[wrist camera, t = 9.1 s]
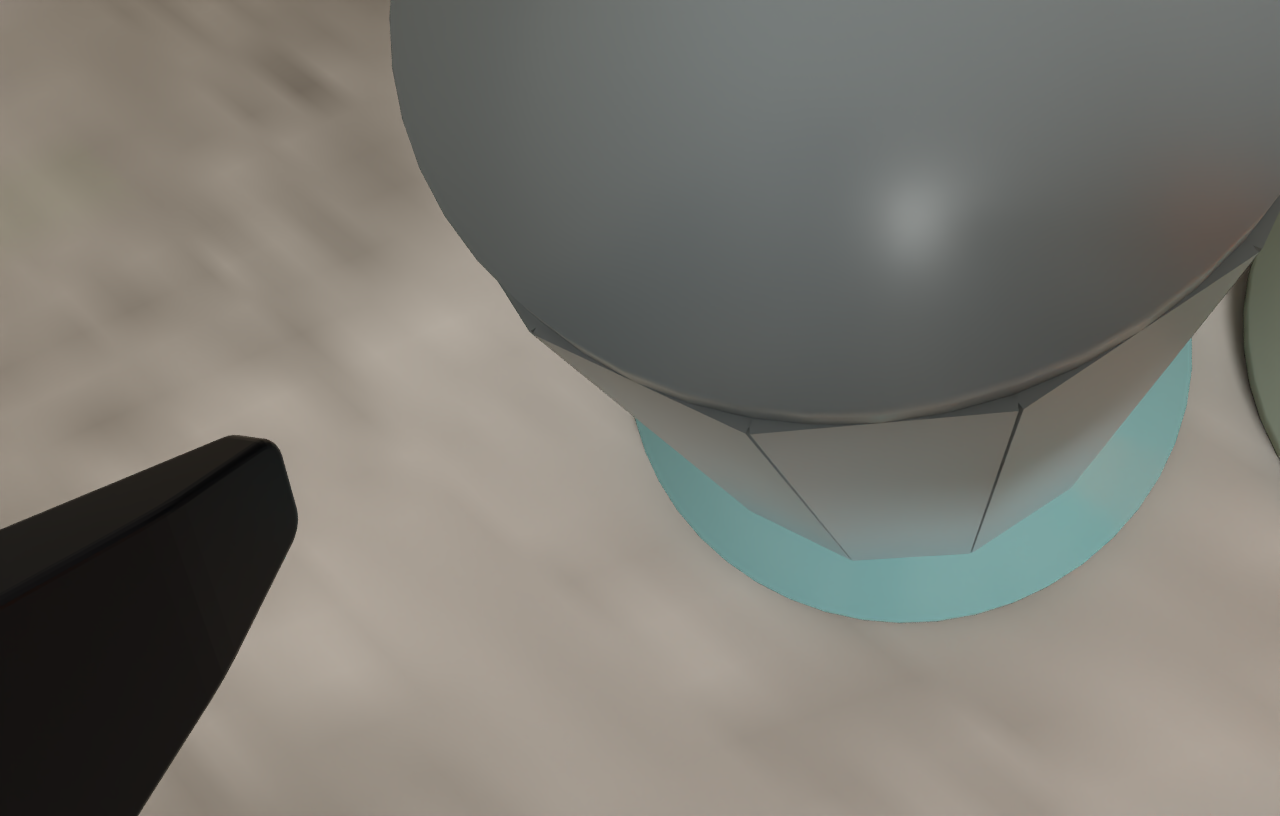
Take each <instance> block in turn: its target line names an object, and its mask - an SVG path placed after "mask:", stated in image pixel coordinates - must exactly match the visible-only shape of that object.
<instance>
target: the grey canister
mask: <svg viewBox="0 0 1280 816" xmlns="http://www.w3.org/2000/svg"><path fill="white" fill-rule="evenodd" d="M390 34H391V52H392V69H393V74H394V79H395V84H396V89H397V94H398V99H399V105H400V110H401V115H402V120H403V122H404V125H405V128H406V131H407V134H408V137H409V140H410V142H411V145H412V148H413V151H414V154H415V157H416V159H417V162H418V165H419V168H420V170H421V172H422V174H423V176H424V178H425V180H426V182H427V183H428V185H429V187H430V189H431V191H432V193H433V195H434V197H435V199H436V201H437V202H438V204H439V206H440V208H441V210H442V212H443V214H444V216H445V217H446V219H447V220H448V221H449V223H450V224H451V225H452V227H453V228H454V229H455V231H456V232H457V234H458V235H459V236H460V238H461V239H462V240H463V242H464V243H465V244H466V246H467V247H468V249H469V250H470V251H471V253H472V254H473V255H474V257H475V258H476V259H477V261H478V262H479V263H480V264H481V265H482V266H483V267H484V268H485V269H486V270H487V271H488V272H489V273H490V274H491V275H492V276H493V277H494V278H495V279H496V280H497V281H498V282H499V284H500V285H501V287H502V289H503V290H504V292H505V293H506V295H507V297H508V298H509V300H510V301H511V303H512V305H513V306H514V308H515V309H516V311H517V313H518V314H519V316H520V317H521V319H522V321H523V322H524V324H525V325H526V327H527V328H528V330H529V332H531V333H532V334H533V335H534V336H535V337H536V338H538V339H539V340H540V341H541V342H543V343H544V344H545V345H546V346H547V347H549V348H550V349H551V350H552V351H554V352H555V353H556V354H557V355H559V356H560V357H561V358H562V359H564V360H565V361H566V362H567V363H568V364H570V365H571V366H572V367H573V368H575V369H576V370H577V371H578V372H580V373H581V374H582V375H583V376H584V377H586V378H587V379H588V380H589V381H591V382H592V383H593V384H594V385H596V386H597V387H598V388H599V389H601V390H602V391H603V392H604V393H605V394H607V395H608V396H609V397H610V398H612V399H613V400H614V401H615V402H617V403H618V404H619V405H620V406H621V407H623V408H624V409H625V410H626V411H628V412H629V413H630V414H631V415H633V416H634V417H635V418H636V419H638V420H639V421H640V422H641V423H642V424H644V425H645V426H646V427H647V428H649V429H650V430H651V431H652V432H654V433H655V434H656V435H657V436H658V437H660V438H661V439H662V440H663V441H665V442H666V443H667V444H668V445H670V446H671V447H672V448H673V449H675V450H676V451H677V452H678V453H679V454H681V455H682V456H683V457H684V458H686V459H687V460H688V461H689V462H691V463H692V464H693V465H694V466H695V467H697V468H698V469H699V470H700V471H702V472H703V473H704V474H705V475H707V476H708V477H709V478H710V479H712V480H713V481H714V482H715V483H716V484H718V485H719V486H720V487H721V488H723V489H724V490H725V491H726V492H728V493H729V494H730V495H731V496H732V497H734V498H735V499H736V500H737V501H739V502H740V503H741V504H742V505H744V506H745V507H746V508H747V509H749V510H750V511H751V512H753V513H755V514H757V515H760V516H762V517H764V518H766V519H768V520H770V521H772V522H774V523H776V524H778V525H780V526H782V527H784V528H786V529H788V530H790V531H792V532H794V533H796V534H798V535H800V536H802V537H804V538H806V539H808V540H811V541H813V542H815V543H817V544H819V545H821V546H823V547H825V548H827V549H829V550H831V551H833V552H835V553H837V554H839V555H841V556H843V557H845V558H847V559H849V560H851V559H852V560H853V561H856V560H872V559H889V558H906V557H922V556H939V555H956V554H970V552H972V553H973V552H974V551H976V550H977V549H979V548H980V547H982V546H983V545H985V544H986V543H988V542H989V541H991V540H992V539H994V538H995V537H997V536H999V535H1000V534H1002V533H1003V532H1005V531H1006V530H1008V529H1009V528H1011V527H1012V526H1014V525H1015V524H1017V523H1018V522H1020V521H1021V520H1023V519H1024V518H1026V517H1027V516H1029V515H1030V514H1032V513H1034V512H1035V511H1037V510H1038V509H1040V508H1041V507H1043V506H1044V505H1046V504H1047V503H1049V502H1050V501H1052V500H1053V499H1055V498H1056V497H1058V496H1059V495H1061V494H1062V493H1064V492H1065V491H1067V490H1069V489H1070V488H1071V487H1072V486H1073V485H1074V483H1075V482H1076V481H1077V480H1078V478H1079V477H1080V476H1081V475H1082V473H1083V472H1084V471H1085V470H1086V468H1087V467H1088V466H1089V465H1090V463H1091V462H1092V461H1093V460H1094V458H1095V457H1096V456H1097V455H1098V453H1099V452H1100V451H1101V450H1102V448H1103V447H1104V446H1105V445H1106V443H1107V442H1108V441H1109V440H1110V438H1111V437H1112V436H1113V435H1114V433H1115V432H1116V431H1117V430H1118V428H1119V427H1120V426H1121V425H1122V423H1123V422H1124V421H1125V420H1126V418H1127V417H1128V416H1129V415H1130V413H1131V412H1132V411H1133V410H1134V408H1135V407H1136V406H1137V405H1138V403H1139V402H1140V401H1141V400H1142V398H1143V397H1144V396H1145V395H1146V393H1147V392H1148V391H1149V390H1150V388H1151V387H1152V386H1153V385H1154V383H1155V382H1156V381H1157V380H1158V378H1159V377H1160V376H1161V375H1162V373H1163V372H1164V371H1165V370H1166V368H1167V367H1168V366H1169V365H1170V363H1171V362H1172V361H1173V360H1174V358H1175V357H1176V356H1177V355H1178V353H1179V352H1180V351H1181V350H1182V348H1183V347H1184V346H1185V345H1186V343H1187V342H1188V341H1189V340H1190V338H1191V337H1192V336H1193V335H1194V333H1195V332H1196V331H1197V330H1198V328H1199V327H1200V326H1201V325H1202V323H1203V322H1204V321H1205V320H1206V318H1207V317H1208V316H1209V315H1210V313H1211V312H1212V311H1213V310H1214V308H1215V307H1216V306H1217V305H1218V303H1219V302H1220V301H1221V300H1222V298H1223V297H1224V296H1225V295H1226V293H1227V292H1228V291H1229V290H1230V288H1231V287H1232V286H1233V285H1234V283H1235V282H1236V281H1237V280H1238V278H1239V277H1240V276H1241V275H1242V273H1243V272H1244V271H1245V270H1246V268H1247V267H1248V266H1249V265H1250V263H1251V262H1252V261H1253V260H1254V258H1255V257H1256V256H1257V255H1258V253H1259V252H1260V251H1261V250H1262V248H1263V246H1264V244H1265V242H1266V240H1267V238H1268V235H1269V233H1270V231H1271V229H1272V227H1273V225H1274V222H1275V220H1276V218H1277V216H1278V214H1279V212H1280V0H391V4H390Z"/></svg>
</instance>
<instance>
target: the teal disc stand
mask: <svg viewBox="0 0 1280 816" xmlns="http://www.w3.org/2000/svg"><path fill="white" fill-rule="evenodd" d="M1191 371H1192V337H1191V338H1190V340H1189V341H1188V342H1187V343H1186V345H1185V346H1184V347H1183V348H1182V350H1181V351H1180V352H1179V353H1178V355H1177V356H1176V357H1175V358H1174V360H1173V361H1172V362H1171V363H1170V365H1169V366H1168V367H1167V368H1166V370H1165V371H1164V372H1163V373H1162V375H1161V376H1160V377H1159V378H1158V380H1157V381H1156V382H1155V383H1154V385H1153V386H1152V387H1151V388H1150V390H1149V391H1148V392H1147V393H1146V395H1145V396H1144V397H1143V398H1142V400H1141V401H1140V402H1139V403H1138V405H1137V406H1136V407H1135V408H1134V410H1133V411H1132V412H1131V413H1130V415H1129V416H1128V417H1127V418H1126V420H1125V421H1124V422H1123V423H1122V425H1121V426H1120V427H1119V428H1118V430H1117V431H1116V432H1115V433H1114V435H1113V436H1112V437H1111V438H1110V440H1109V441H1108V442H1107V443H1106V445H1105V446H1104V447H1103V448H1102V450H1101V451H1100V452H1099V453H1098V455H1097V456H1096V457H1095V458H1094V460H1093V461H1092V462H1091V463H1090V465H1089V466H1088V467H1087V468H1086V470H1085V471H1084V472H1083V473H1082V475H1081V476H1080V477H1079V478H1078V480H1077V481H1076V482H1075V483H1074V485H1073V486H1072V487H1071V488H1070V489H1069V490H1067V491H1065V492H1064V493H1062V494H1061V495H1059V496H1058V497H1056V498H1055V499H1053V500H1052V501H1050V502H1049V503H1047V504H1046V505H1044V506H1043V507H1041V508H1040V509H1038V510H1037V511H1035V512H1034V513H1032V514H1030V515H1029V516H1027V517H1026V518H1024V519H1023V520H1021V521H1020V522H1018V523H1017V524H1015V525H1014V526H1012V527H1011V528H1009V529H1008V530H1006V531H1005V532H1003V533H1002V534H1000V535H999V536H997V537H995V538H994V539H992V540H991V541H989V542H988V543H986V544H985V545H983V546H982V547H980V548H979V549H977V550H976V551H974V552H973V553H972V552H970V554H956V555H939V556H922V557H906V558H889V559H872V560H856V561H853V560H852V559H851V560H849V559H847V558H845V557H843V556H841V555H839V554H837V553H835V552H833V551H831V550H829V549H827V548H825V547H823V546H821V545H819V544H817V543H815V542H813V541H811V540H808V539H806V538H804V537H802V536H800V535H798V534H796V533H794V532H792V531H790V530H788V529H786V528H784V527H782V526H780V525H778V524H776V523H774V522H772V521H770V520H768V519H766V518H764V517H762V516H760V515H757V514H755V513H753V512H751V511H750V510H749V509H747V508H746V507H745V506H744V505H742V504H741V503H740V502H739V501H737V500H736V499H735V498H734V497H732V496H731V495H730V494H729V493H728V492H726V491H725V490H724V489H723V488H721V487H720V486H719V485H718V484H716V483H715V482H714V481H713V480H712V479H710V478H709V477H708V476H707V475H705V474H704V473H703V472H702V471H700V470H699V469H698V468H697V467H695V466H694V465H693V464H692V463H691V462H689V461H688V460H687V459H686V458H684V457H683V456H682V455H681V454H679V453H678V452H677V451H676V450H675V449H673V448H672V447H671V446H670V445H668V444H667V443H666V442H665V441H663V440H662V439H661V438H660V437H658V436H657V435H656V434H655V433H654V432H652V431H651V430H650V429H649V428H647V427H646V426H645V425H644V424H642V423H641V422H640V421H639V420H638V419H636V418H635V420H636V423H637V426H638V430H639V433H640V436H641V439H642V443H643V446H644V449H645V452H646V454H647V456H648V458H649V460H650V463H651V465H652V467H653V469H654V471H655V473H656V476H657V478H658V480H659V482H660V484H661V485H662V487H663V488H664V490H665V491H666V493H667V495H668V496H669V498H670V499H671V501H672V502H673V504H674V506H675V507H676V509H677V510H678V512H679V513H680V514H681V515H682V516H683V517H684V519H685V520H686V521H687V522H688V523H689V525H690V526H691V527H692V528H693V529H694V531H695V532H696V533H697V534H698V535H699V536H700V538H702V539H703V540H704V541H705V542H706V543H707V544H708V545H709V546H710V547H711V548H713V549H714V550H715V551H716V552H717V553H718V554H719V555H720V556H721V557H722V558H724V559H725V560H726V561H727V562H728V563H730V564H731V565H733V566H734V567H736V568H737V569H739V570H740V571H741V572H743V573H744V574H746V575H747V576H749V577H750V578H751V579H753V580H754V581H756V582H758V583H760V584H762V585H764V586H765V587H767V588H769V589H771V590H773V591H775V592H777V593H779V594H781V595H783V596H785V597H787V598H789V599H791V600H794V601H797V602H799V603H802V604H805V605H808V606H811V607H813V608H816V609H819V610H822V611H825V612H828V613H833V614H837V615H842V616H846V617H851V618H856V619H860V620H868V621H880V622H892V623H916V622H938V621H944V620H949V619H955V618H961V617H966V616H972V615H977V614H980V613H983V612H986V611H989V610H993V609H996V608H999V607H1002V606H1005V605H1008V604H1012V603H1014V602H1016V601H1018V600H1020V599H1022V598H1025V597H1027V596H1029V595H1031V594H1033V593H1035V592H1037V591H1039V590H1042V589H1044V588H1046V587H1048V586H1049V585H1051V584H1052V583H1054V582H1055V581H1057V580H1059V579H1060V578H1062V577H1063V576H1065V575H1066V574H1068V573H1069V572H1071V571H1073V570H1074V569H1076V568H1077V567H1079V566H1080V565H1082V564H1083V563H1084V562H1086V561H1087V560H1088V559H1089V558H1090V557H1091V556H1093V555H1094V554H1095V553H1096V552H1097V551H1098V550H1100V549H1101V548H1102V547H1103V546H1104V545H1105V544H1107V543H1108V542H1109V541H1110V540H1111V539H1112V538H1113V537H1114V536H1115V535H1116V534H1117V533H1118V532H1119V530H1120V529H1121V528H1122V527H1123V526H1124V525H1125V524H1126V523H1127V521H1128V520H1129V519H1130V518H1131V517H1132V516H1133V515H1134V513H1135V512H1136V511H1137V510H1138V509H1139V507H1140V506H1141V504H1142V503H1143V501H1144V500H1145V498H1146V497H1147V495H1148V494H1149V492H1150V491H1151V489H1152V487H1153V486H1154V484H1155V483H1156V481H1157V480H1158V478H1159V477H1160V475H1161V472H1162V470H1163V468H1164V466H1165V464H1166V462H1167V460H1168V457H1169V455H1170V453H1171V451H1172V449H1173V447H1174V445H1175V442H1176V439H1177V436H1178V433H1179V429H1180V426H1181V423H1182V419H1183V416H1184V413H1185V409H1186V406H1187V399H1188V392H1189V385H1190V378H1191Z"/></svg>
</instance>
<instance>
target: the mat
mask: <svg viewBox="0 0 1280 816" xmlns="http://www.w3.org/2000/svg"><path fill="white" fill-rule="evenodd" d="M1243 320H1244V352H1245V358H1246V364H1247V371H1248V377H1249V383H1250V387H1251V390H1252V393H1253V396H1254V400H1255V403H1256V406H1257V409H1258V412H1259V416H1260V419H1261V422H1262V424H1263V426H1264V428H1265V430H1266V432H1267V434H1268V436H1269V438H1270V441H1271V443H1272V445H1273V447H1274V449H1275V451H1276V453H1277V455H1278V457H1279V459H1280V212H1279V214H1278V216H1277V218H1276V220H1275V222H1274V225H1273V227H1272V229H1271V231H1270V233H1269V235H1268V238H1267V240H1266V242H1265V244H1264V246H1263V248H1262V250H1261V251H1260V252H1259V253H1258V255H1257V256H1256V257H1255V258H1254V260H1253V262H1252V266H1251V269H1250V272H1249V276H1248V282H1247V289H1246V297H1245V304H1244V311H1243Z"/></svg>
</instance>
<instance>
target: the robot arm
mask: <svg viewBox="0 0 1280 816" xmlns="http://www.w3.org/2000/svg"><path fill="white" fill-rule="evenodd" d="M297 525H298V513H297V508H296V504H295V500H294V497H293V493H292V490H291V486H290V482H289V479H288V475H287V472H286V468H285V464H284V461H283V457H282V454H281V452H280V450H279V448H278V447H277V446H276V444H275V443H273V442H272V441H270V440H267V439H262V438H255V437H247V436H240V435H231V436H226V437H223V438H221V439H218V440H216V441H213V442H211V443H209V444H206V445H204V446H201V447H199V448H197V449H194V450H192V451H189V452H187V453H184V454H182V455H180V456H177V457H175V458H172V459H170V460H168V461H165V462H163V463H160V464H158V465H155V466H153V467H151V468H148V469H146V470H143V471H141V472H138V473H136V474H134V475H131V476H129V477H126V478H124V479H122V480H119V481H117V482H114V483H112V484H109V485H107V486H105V487H102V488H100V489H97V490H95V491H93V492H90V493H88V494H85V495H83V496H80V497H78V498H76V499H73V500H71V501H68V502H66V503H63V504H61V505H59V506H56V507H54V508H51V509H49V510H47V511H44V512H42V513H39V514H37V515H34V516H32V517H30V518H27V519H25V520H22V521H20V522H18V523H15V524H13V525H10V526H8V527H5V528H3V529H1V530H0V816H138V815H139V813H140V812H141V810H142V809H143V807H144V805H145V804H146V802H147V801H148V799H149V798H150V796H151V794H152V793H153V791H154V790H155V788H156V786H157V785H158V783H159V782H160V780H161V779H162V777H163V775H164V774H165V772H166V771H167V769H168V767H169V766H170V764H171V763H172V761H173V760H174V758H175V756H176V755H177V753H178V752H179V750H180V748H181V747H182V745H183V744H184V742H185V741H186V739H187V737H188V736H189V734H190V733H191V731H192V730H193V728H194V726H195V725H196V723H197V722H198V720H199V718H200V717H201V715H202V714H203V712H204V711H205V709H206V707H207V706H208V704H209V703H210V701H211V699H212V698H213V696H214V694H215V693H216V691H217V689H218V688H219V686H220V684H221V683H222V681H223V679H224V678H225V676H226V674H227V672H228V670H229V668H230V666H231V664H232V662H233V661H234V659H235V657H236V655H237V653H238V651H239V649H240V647H241V645H242V643H243V641H244V639H245V637H246V635H247V633H248V631H249V629H250V627H251V625H252V623H253V621H254V619H255V617H256V615H257V613H258V611H259V609H260V607H261V605H262V603H263V601H264V599H265V597H266V595H267V593H268V591H269V589H270V587H271V585H272V583H273V581H274V579H275V577H276V575H277V573H278V571H279V569H280V567H281V565H282V563H283V561H284V559H285V557H286V555H287V553H288V551H289V549H290V547H291V545H292V543H293V540H294V538H295V534H296V531H297Z"/></svg>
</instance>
